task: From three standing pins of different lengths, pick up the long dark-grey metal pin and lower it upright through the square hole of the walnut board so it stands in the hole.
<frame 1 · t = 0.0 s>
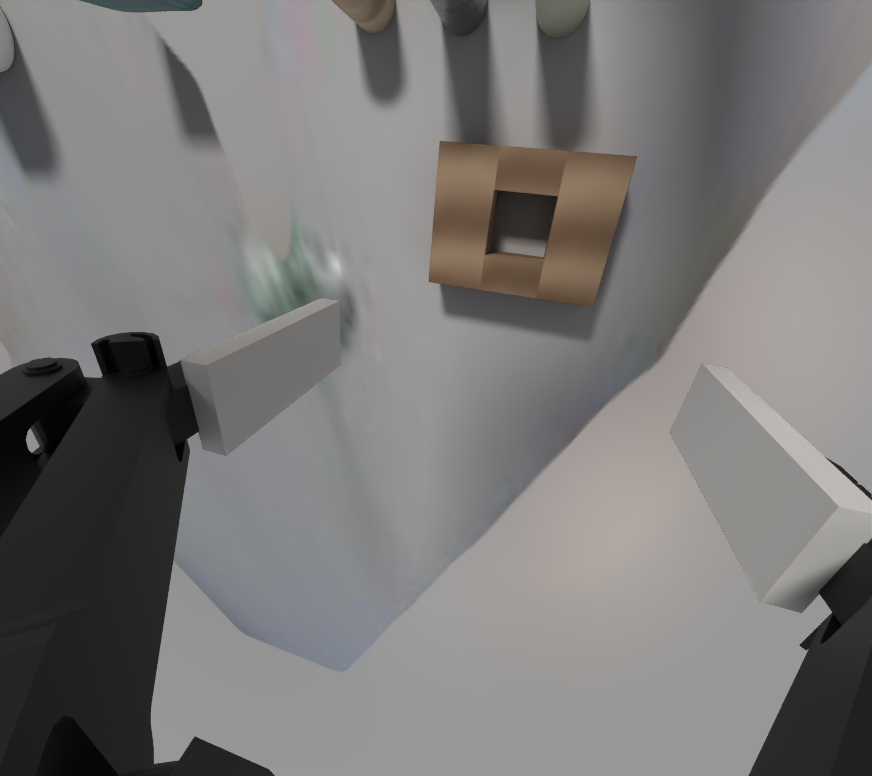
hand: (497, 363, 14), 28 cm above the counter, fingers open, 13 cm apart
short pin: (373, 3, 32), on the counter
long pin: (463, 3, 31), on the counter
medium pin: (562, 4, 29), on the counter
hole board: (521, 224, 37), on the counter
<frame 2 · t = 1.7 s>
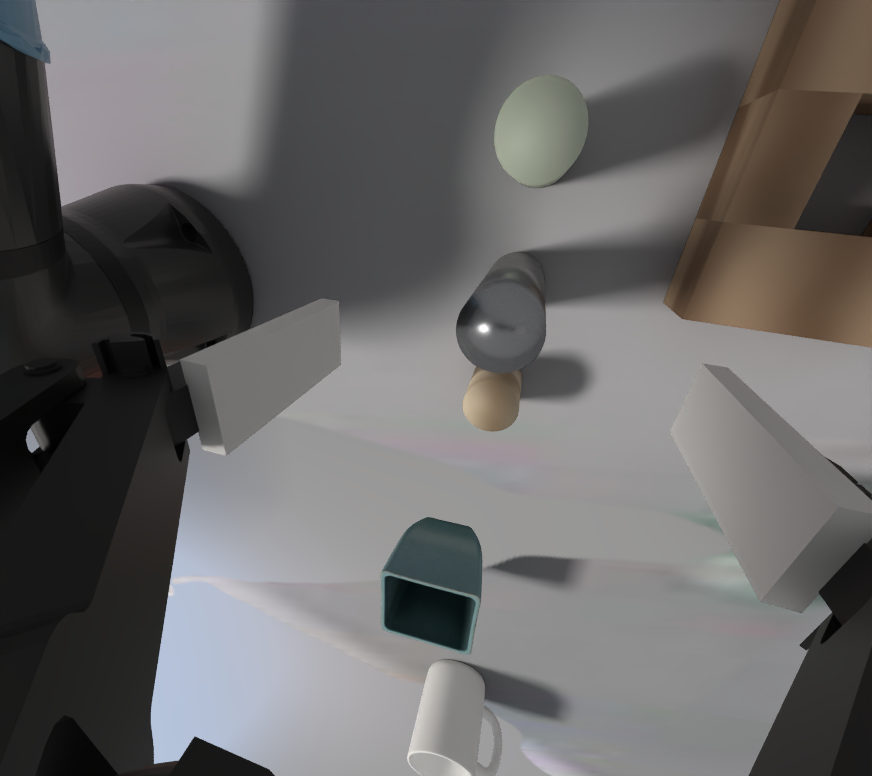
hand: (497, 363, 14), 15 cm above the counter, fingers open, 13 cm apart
short pin: (497, 378, 31), on the counter
long pin: (516, 281, 27), on the counter
flower pot: (448, 535, 41), on the counter
cup: (468, 680, 53), on the counter
medium pin: (540, 152, 23), on the counter
hole board: (835, 176, 20), on the counter
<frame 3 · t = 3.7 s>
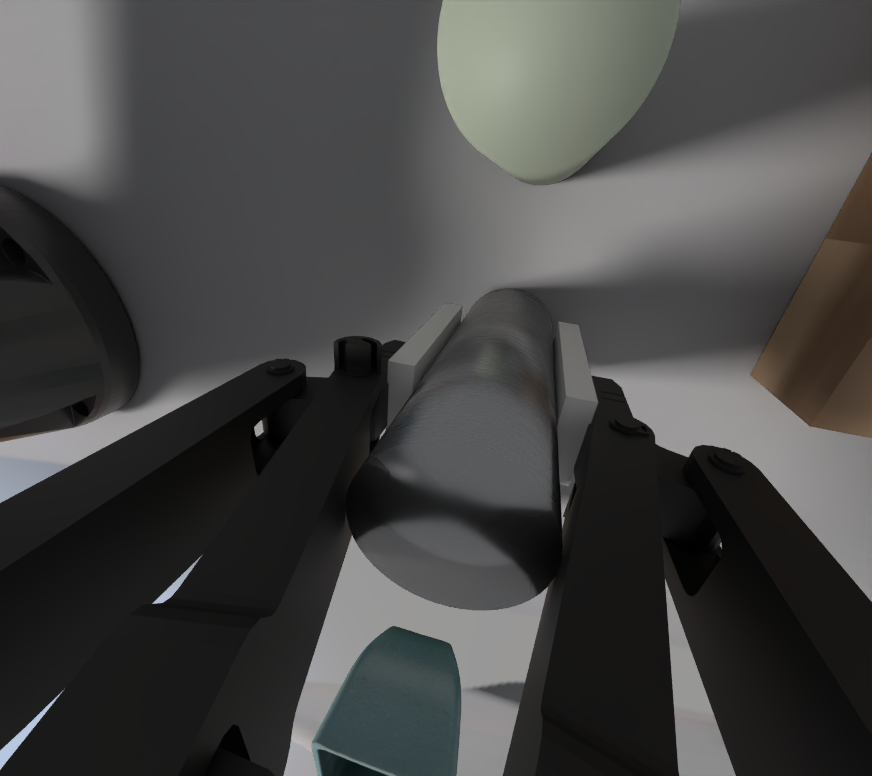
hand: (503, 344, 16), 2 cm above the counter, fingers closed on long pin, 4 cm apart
long pin: (507, 332, 17), on the counter, touching gripper
flower pot: (422, 646, 31), on the counter
medium pin: (547, 121, 13), on the counter
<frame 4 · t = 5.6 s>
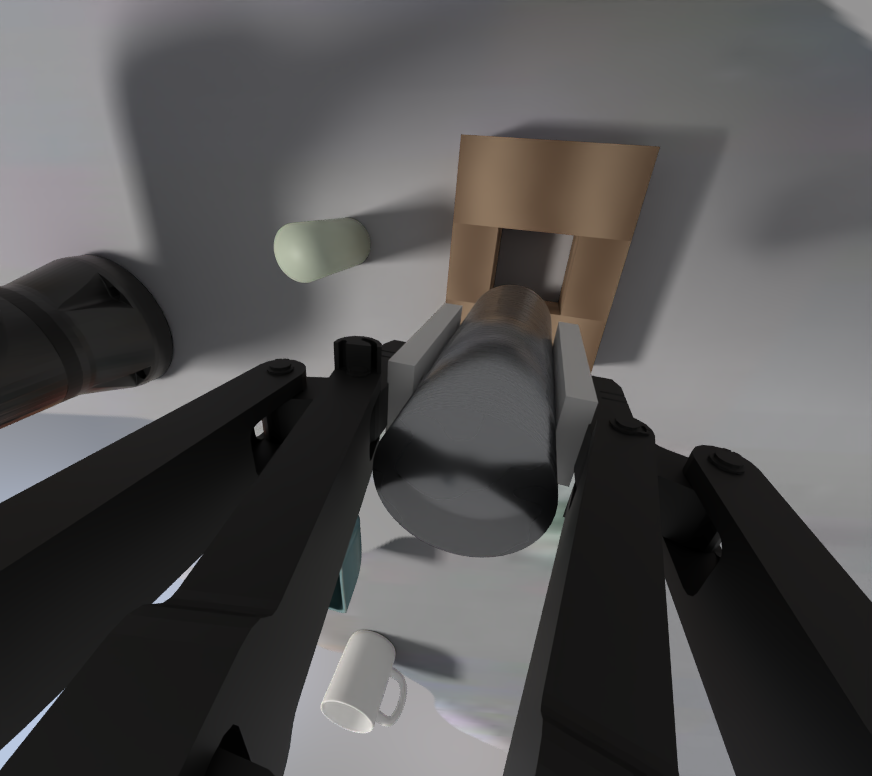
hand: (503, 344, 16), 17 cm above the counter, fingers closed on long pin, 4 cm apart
long pin: (508, 325, 18), point 14 cm above the counter, touching gripper
flower pot: (344, 521, 50), on the counter
cup: (383, 648, 63), on the counter
medium pin: (349, 242, 33), on the counter
hole board: (531, 264, 30), on the counter
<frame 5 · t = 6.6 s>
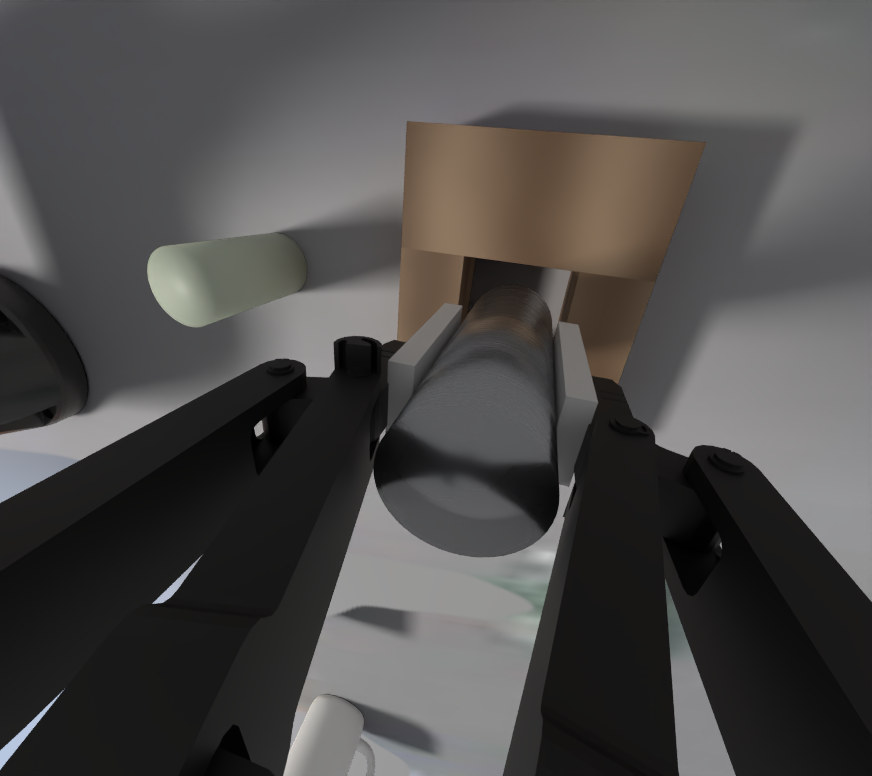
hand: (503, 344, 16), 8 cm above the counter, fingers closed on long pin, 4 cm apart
long pin: (509, 325, 18), point 5 cm above the counter, touching gripper
cup: (351, 714, 55), on the counter
medium pin: (280, 264, 25), on the counter
hole board: (515, 301, 22), on the counter
when the fingers open (5 cm above the counter, at t = 7.5 s): long pin drops 2 cm, resting in hole board.
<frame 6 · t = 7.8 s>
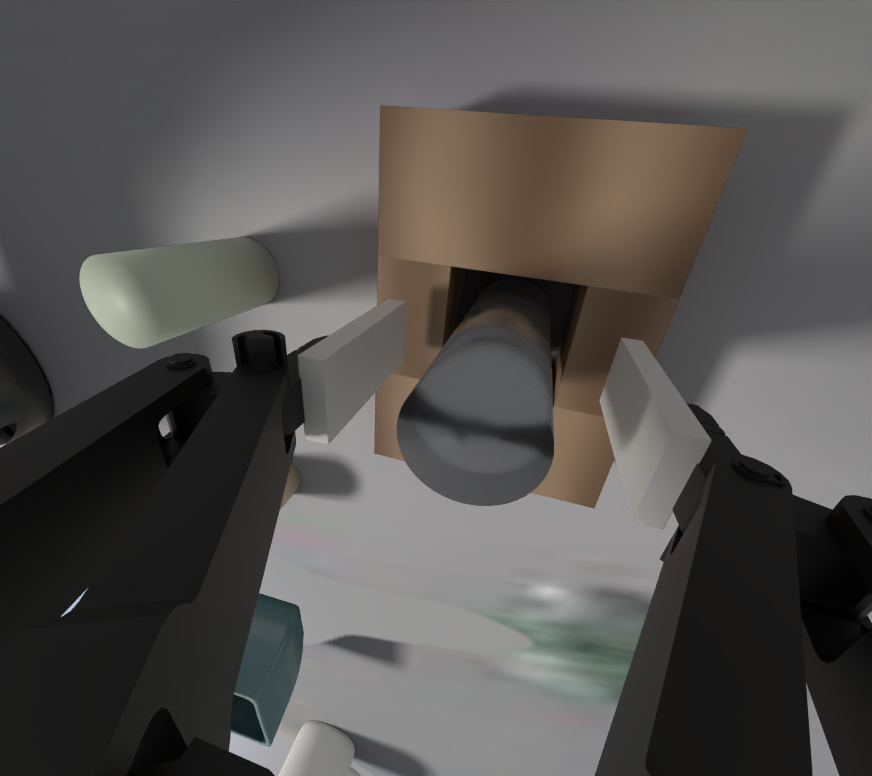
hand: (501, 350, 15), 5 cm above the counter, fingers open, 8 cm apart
short pin: (278, 473, 30), on the counter
long pin: (510, 316, 20), resting in hole board
flower pot: (283, 609, 40), on the counter
cup: (341, 741, 52), on the counter
medium pin: (250, 272, 23), on the counter
hole board: (512, 315, 20), on the counter
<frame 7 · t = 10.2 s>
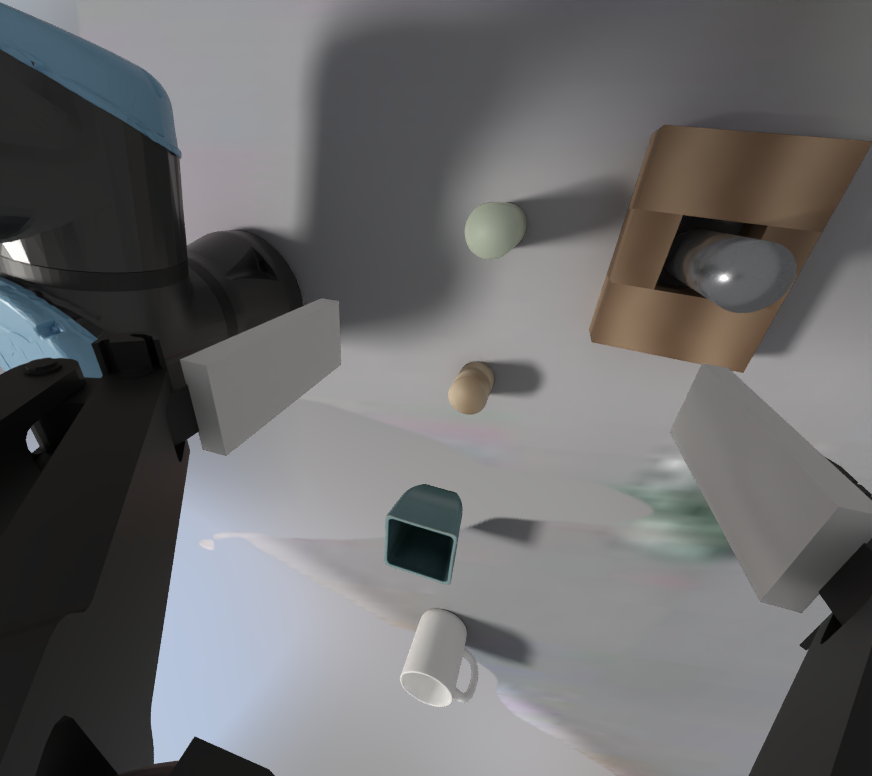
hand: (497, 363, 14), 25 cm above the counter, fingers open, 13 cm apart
short pin: (476, 377, 42), on the counter
long pin: (690, 254, 31), resting in hole board
flower pot: (440, 499, 52), on the counter
cup: (453, 628, 64), on the counter
medium pin: (505, 226, 35), on the counter
hole board: (691, 253, 31), on the counter
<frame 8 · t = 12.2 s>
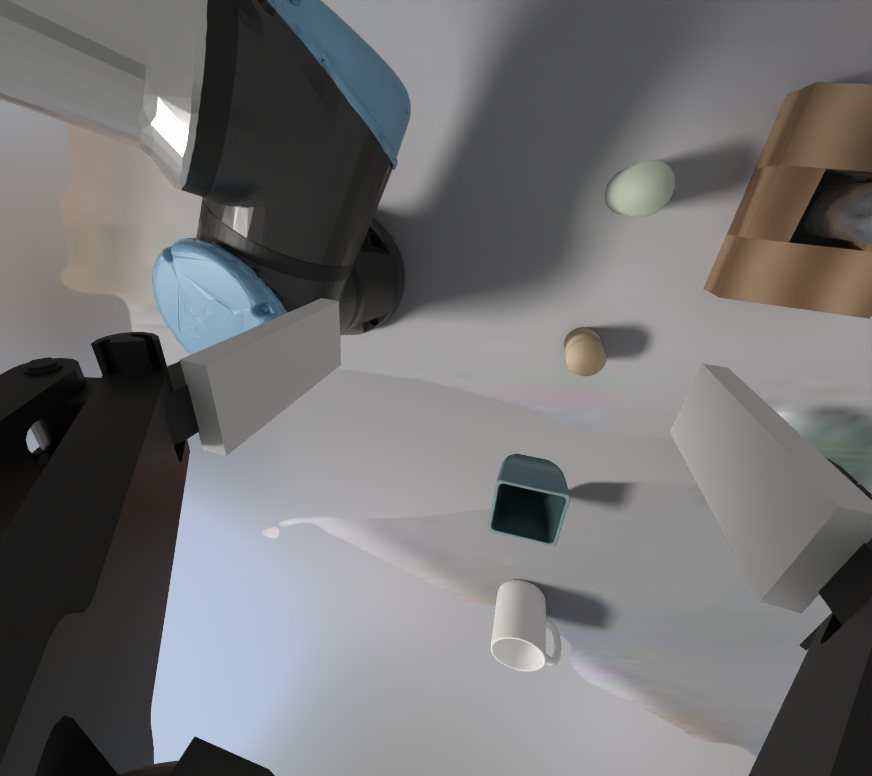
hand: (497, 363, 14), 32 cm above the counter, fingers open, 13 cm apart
short pin: (582, 343, 44), on the counter
long pin: (813, 210, 34), resting in hole board
flower pot: (529, 468, 54), on the counter
cup: (530, 598, 66), on the counter
medium pin: (627, 191, 36), on the counter
hole board: (814, 209, 33), on the counter
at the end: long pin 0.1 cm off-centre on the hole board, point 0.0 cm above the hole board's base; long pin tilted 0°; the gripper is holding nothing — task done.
